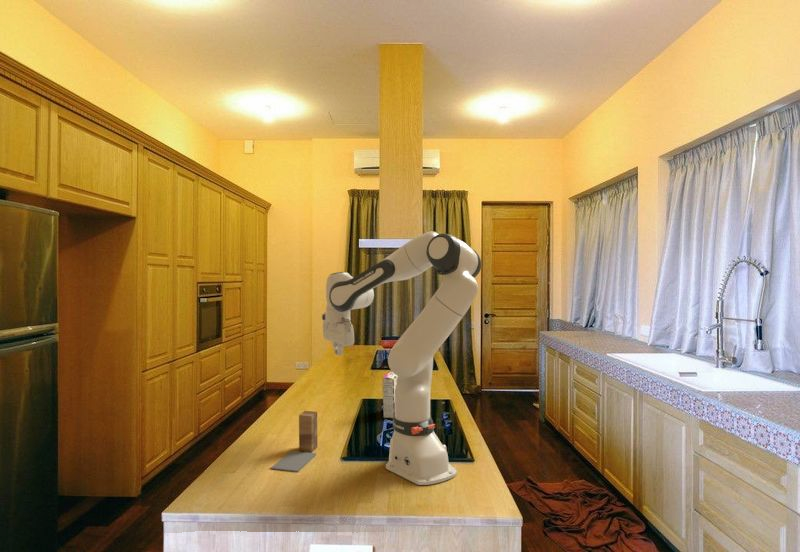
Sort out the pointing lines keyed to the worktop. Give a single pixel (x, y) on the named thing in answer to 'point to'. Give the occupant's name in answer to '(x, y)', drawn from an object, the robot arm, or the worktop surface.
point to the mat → (293, 461)
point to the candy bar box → (389, 395)
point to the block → (308, 431)
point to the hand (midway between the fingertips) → (338, 354)
